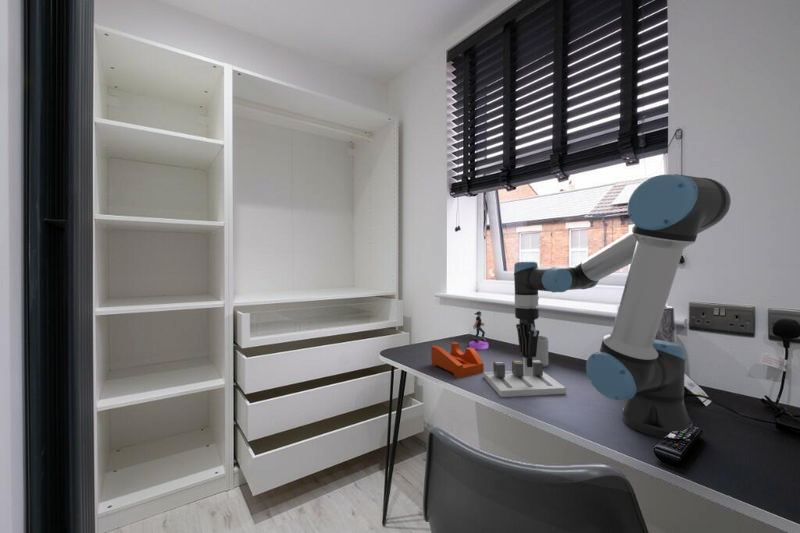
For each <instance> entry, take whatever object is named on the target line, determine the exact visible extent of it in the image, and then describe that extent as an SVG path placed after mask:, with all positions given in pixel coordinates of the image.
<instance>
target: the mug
mask: <svg viewBox="0 0 800 533" xmlns="http://www.w3.org/2000/svg"><path fill="white" fill-rule="evenodd" d="M533 360H539V361H541V362H542V363H543V368H544V367H548V366H549V338H548V337H547V336H542V335H538V342H537V352H536V357H533Z"/></svg>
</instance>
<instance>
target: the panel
mask: <svg viewBox="0 0 800 533" xmlns="http://www.w3.org/2000/svg"><path fill="white" fill-rule="evenodd" d="M483 378H484V379H485V380H486V382H487V383H488V384H489V385H490V386H491V388H493V390H494V391H495V392H496V393H497V394H498V396H499V397H500V398H507V397H525V396H529V397H531V396H549V395H566V394H567V392H566V391H567V389H566V388H567V387H565V385H562V384H561V383H560V382H558V381H557V380H555V379H554V378H552V377H551V376H550V375H548V374H547V373H546V372H544V371H543V376H534V375H533V376H520V377H516V376H515V375H513V374H512V370H505V377H498V378H497V377H496V376H495V375H494V374H493V371H484V372H483Z"/></svg>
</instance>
